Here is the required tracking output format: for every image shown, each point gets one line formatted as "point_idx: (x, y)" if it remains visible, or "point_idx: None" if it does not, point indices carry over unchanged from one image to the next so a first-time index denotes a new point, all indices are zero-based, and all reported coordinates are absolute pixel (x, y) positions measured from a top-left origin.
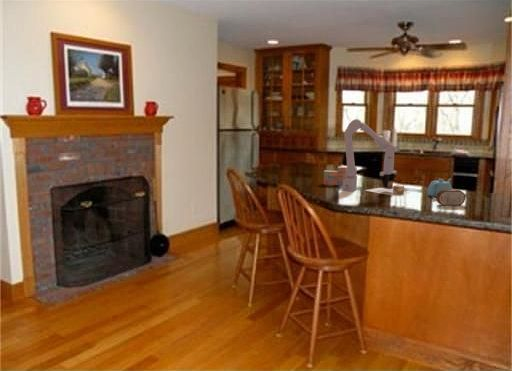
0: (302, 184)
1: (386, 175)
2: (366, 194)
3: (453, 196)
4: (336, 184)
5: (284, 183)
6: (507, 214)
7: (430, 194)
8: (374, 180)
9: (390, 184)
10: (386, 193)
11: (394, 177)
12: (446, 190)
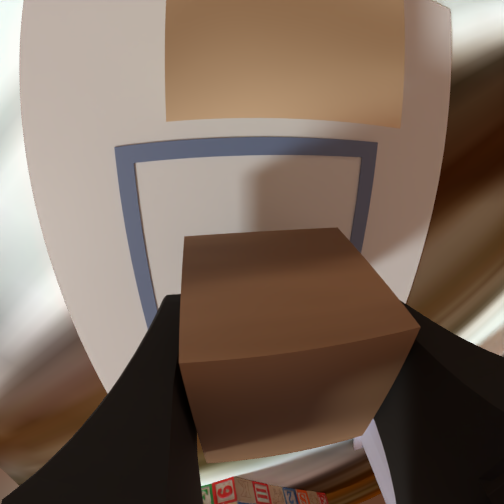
0: (365, 490)
1: (500, 487)
2: (478, 286)
3: None
4: (297, 493)
5: (380, 492)
6: None
7: None
8: (17, 473)
9: (299, 283)
10: (400, 171)
11: (92, 479)
12: None
